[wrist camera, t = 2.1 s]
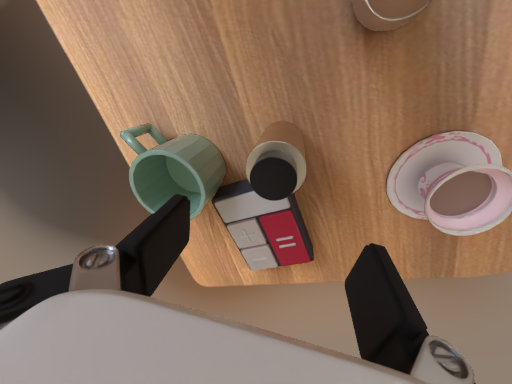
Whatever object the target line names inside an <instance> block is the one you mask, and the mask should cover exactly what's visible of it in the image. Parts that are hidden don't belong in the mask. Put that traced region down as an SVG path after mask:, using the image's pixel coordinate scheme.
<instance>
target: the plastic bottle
mask: <svg viewBox="0 0 512 384" xmlns="http://www.w3.org/2000/svg"><path fill="white" fill-rule="evenodd" d="M430 1H431V0H352V6H353V10H354V13H355V15H356V17H357V19H358V21H359V22H360V23H361V24H362V25H363V26H365V27H366V28H368V29H370V30H373V31H388V30H393V29H396V28H399V27H401V26H403V25H405V24H406V23H408V22H409V21H411V20H412V19H413V18H414V17H416V16H417V15H418V14H419V13H420V12H421V11H422V10H423V9H424V8H425V7H426V6H427V5H428V4H429V3H430Z"/></svg>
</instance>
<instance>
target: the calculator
mask: <svg viewBox="0 0 512 384" xmlns="http://www.w3.org/2000/svg"><path fill="white" fill-rule="evenodd" d="M212 204H213V205H214V207H215V209H216V211H217V212H218V214H219V216H220V218H221V219H222V221H223V223H224V224H225V226H226V228H227V230H228V231H229V233H230V235H231V237H232V238H233V240H234V242H235V244H236V245H237V247H238V249H239V251H240V252H241V254H242V256H243V257H244V259H245V261H246V263H247V264H248V266H249V268H250V269H251V270H252V271H254V270H261V269H267V268H274V267H278V266H288V265H294V264H301V263H308V262H310V261H313V260H314V255H313V246H312V243H311V240H310V238H309V235H308V232H307V229H306V227H305V224H304V221H303V218H302V216H301V213H300V210H299V207H298V205H297V202H296V199H295V196H294V193H292V194H291V195H290V196H288V197H287V198H285V199H282V200H278V201H271V200H266V199H264V198H262V197H260V196H259V195H257V194H256V193H255V191H254V190H253V189H252V187H251V184H250V183H249V181H248V179H247V180H243V181H240V182H237V183H234V184H230V185H227V186H224V187H220V188H219V189H218V191H217V192H216V194H215V195H214V197H213V199H212Z"/></svg>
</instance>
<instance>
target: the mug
mask: <svg viewBox="0 0 512 384" xmlns="http://www.w3.org/2000/svg"><path fill="white" fill-rule="evenodd" d="M146 133H149V134H150V135H151V136H152V137H153V138H154V139H155V140H156V141H157V143H158V144H159V145H158V146H156V147H154V148H152V149H150V150H147V149H146V148H145V147H144V146H143V145H142V144H141V143H140V142H139V141H138V140H137V139H136V138H135V137H137V136H140V135H143V134H146ZM120 136H121V138H122V139H123V140H124V141H125V142H126V143H127V144H128V145H129V146H130V147H131V148H132V149H133V150H134V151H135V152H136V153H137V154H138V156H137V157H136V159H135V160H134V161H133V162H132V164H131V167H130V171H129V181H130V185H131V188H132V191H133V193H134V195H135V197H136V198H137V199H138V201H139V202H140V204H141V205H143V207H145V208H146V209H147V210H148V211H149V212H150V213H152V214H153V213H155V212H156V211H157V210H158V209H159V208H160V207H162V206H163V205H164V204H165V203H166V202H167V201H168V200H169V199H170V198H172V197H173V196H174V195H175V194H180V195H184V196H187V197H188V199H189V200H190V220H192V219H194V218H195V217H197V216H198V215H199V214H200V213H201V211H202V210H203V209H204V207H205V206H206V205H207V203H208V202H209V200H210V199H211V198H212V196H213V195H214V194H215V192H216V191H217V189H218V188H219V186H220V185H221V183H222V182H223V180H224V177H225V162H224V159H223V157H222V155H221V153H220V151H219V150H218V149H217V147H216V146H215V145H214V144H213V143H212V142H210V141H209V140H207V139H206V138H204V137H202V136H199V135H195V134H184V135H180V136H178V137H176V138H173V139H171V140H169V141H167V140H166V139H165V138H164V137H163V136H162V135H161V134H160V133H159V132H158V130H157V129H156V128H155V127H154V126H153V125H152V124H150V123H147V124H143V125H140V126H137V127H133V128H130V129H126V130H123V131H121V133H120Z"/></svg>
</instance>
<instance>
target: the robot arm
mask: <svg viewBox="0 0 512 384" xmlns="http://www.w3.org/2000/svg"><path fill="white" fill-rule="evenodd" d="M189 233H190V200H189V199H188V197H187V196H184V195H180V194H175V195H174V196H173V197H172V198H170V199H169V200H168V201H167V202H166V203H165V204H164V205H163V206H162V207H160V208H159V209H158V210H157V211H156V212H155V213H153V214H151V215H150V216H149V217H148V218H147V219H145V220H144V221H143V222H142V223H141V224H140V225H139V226H138V227H136V228H135V229H134V230H133V231H132V232H131V233H130V234H129V235H127V236H126V237H125V238H124V239H123V240H122V241H121V242H120V243H118V244H117V245H116V246H115V247H114V246H112V245H105V244H104V245H97V246H94V247H91V248H88V249H86V250H84V251H83V252H81V253H80V254H79V255H78V256H77V257H76V258H75V261H74V263H73V264H70V265H66V266H63V267H59V268H55V269H51V270H48V271H44V272H41V273H37V274H32V275H29V276H25V277H21V278H18V279H14V280H11V281H7V282H5V283H2V284H0V384H475V383H474V373H473V370H472V368H471V366H470V364H469V363H468V361H467V360H466V358H465V357H464V356H463V355H462V354H461V353H460V352H459V351H458V350H457V349H456V348H455V347H454V346H453V345H451V344H450V343H448V342H447V341H445V340H444V339H441V338H439V337H437V336H429V334H428V332H427V330H426V329H427V326H426V324H425V322H424V321H423V319H422V317H421V315H420V313H419V311H418V309H417V307H416V305H415V304H414V302H413V300H412V298H411V296H410V294H409V292H408V290H407V288H406V286H405V284H404V283H403V281H402V279H401V277H400V275H399V273H398V271H397V269H396V267H395V265H394V264H393V262H392V260H391V258H390V256H389V254H388V252H387V250H386V248H385V247H384V246H381V245H377V244H373V243H371V244H369V245H366V246H365V247H364V249H363V251H362V252H361V254H360V256H359V258H358V259H357V261H356V263H355V265H354V266H353V268H352V270H351V271H350V273H349V275H348V277H347V278H346V280H345V290H346V294H347V298H348V303H349V307H350V312H351V316H352V321H353V325H354V329H355V334H356V338H357V343H358V347H359V351H360V355H361V358H362V359H360V358H357V357H353V356H350V355H347V354H344V353H341V352H337V351H334V350H331V349H327V348H324V347H321V346H317V345H314V344H311V343H307V342H304V341H301V340H297V339H294V338H290V337H287V336H284V335H281V334H277V333H274V332H270V331H267V330H263V329H260V328H257V327H253V326H250V325H246V324H243V323H240V322H236V321H233V320H230V319H226V318H223V317H219V316H216V315H212V314H209V313H205V312H202V311H198V310H195V309H192V308H188V307H184V306H181V305H177V304H174V303H170V302H167V301H163V300H159V299H155V298H151V297H150V296H151V295H152V294H153V293H154V291H155V290H156V288H157V287H158V285H159V284H160V282H161V281H162V280H163V278H164V277H165V275H166V274H167V272H168V271H169V269H170V268H171V267H172V265H173V264H174V262H175V261H176V259H177V258H178V256H179V255H180V254H181V252H182V251H183V249H184V248H185V246H186V245H187V243H188V241H189Z"/></svg>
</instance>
